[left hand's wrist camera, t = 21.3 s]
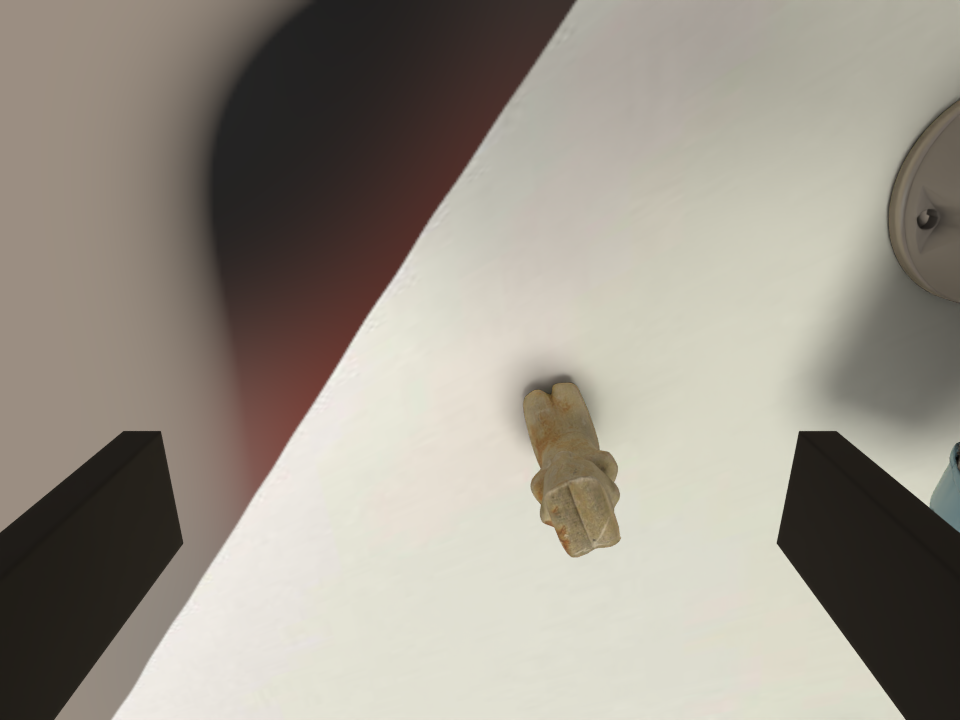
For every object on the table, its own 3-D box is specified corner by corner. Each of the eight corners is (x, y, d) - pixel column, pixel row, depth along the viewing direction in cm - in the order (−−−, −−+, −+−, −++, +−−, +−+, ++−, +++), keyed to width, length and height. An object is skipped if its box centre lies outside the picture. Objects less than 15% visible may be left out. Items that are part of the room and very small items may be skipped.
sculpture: (584, 369, 47) (627, 468, 33) (604, 449, 49) (652, 573, 35) (511, 389, 48) (523, 494, 33) (534, 467, 50) (554, 596, 36)
